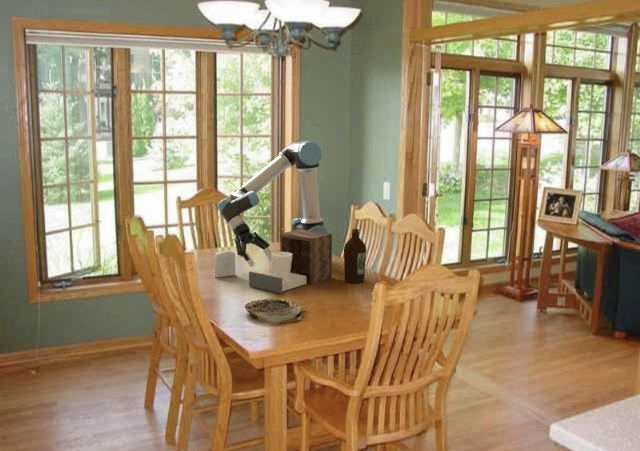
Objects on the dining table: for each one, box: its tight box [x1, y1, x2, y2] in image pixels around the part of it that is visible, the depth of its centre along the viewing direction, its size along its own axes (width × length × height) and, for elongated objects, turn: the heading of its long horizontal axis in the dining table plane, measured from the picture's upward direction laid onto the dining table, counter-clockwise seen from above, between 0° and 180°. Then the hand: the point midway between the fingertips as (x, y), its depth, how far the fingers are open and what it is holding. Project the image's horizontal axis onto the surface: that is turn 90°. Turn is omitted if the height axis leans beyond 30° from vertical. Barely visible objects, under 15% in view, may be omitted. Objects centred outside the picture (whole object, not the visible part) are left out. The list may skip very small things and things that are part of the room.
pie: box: [244, 297, 306, 327], centre depth 259 cm, size 28×27×5 cm
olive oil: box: [343, 228, 367, 284], centre depth 309 cm, size 11×11×25 cm
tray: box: [248, 271, 307, 294], centre depth 301 cm, size 20×19×7 cm
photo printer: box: [214, 250, 236, 278], centre depth 317 cm, size 10×4×12 cm, turn 123°
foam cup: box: [271, 251, 292, 282], centre depth 302 cm, size 10×9×13 cm
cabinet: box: [279, 229, 333, 285], centre depth 315 cm, size 15×19×22 cm
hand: (262, 262), depth 308 cm, fingers open, 13 cm apart
